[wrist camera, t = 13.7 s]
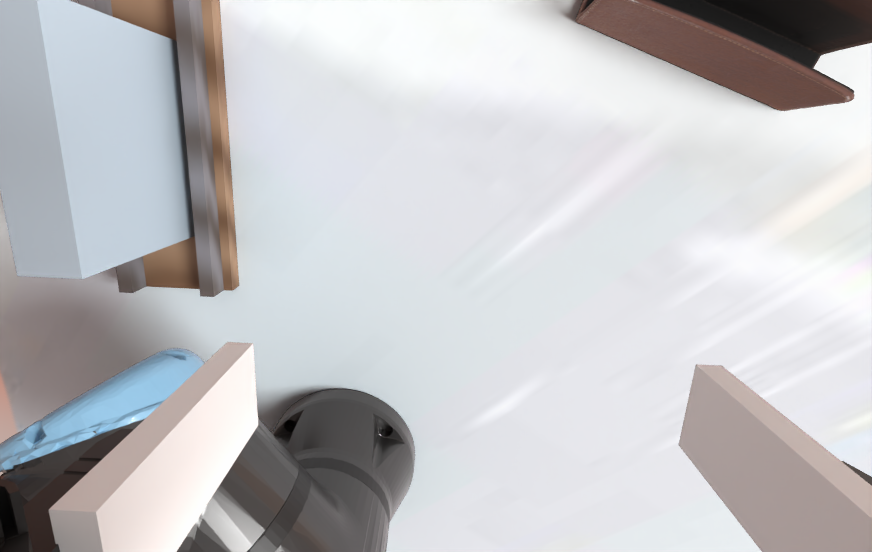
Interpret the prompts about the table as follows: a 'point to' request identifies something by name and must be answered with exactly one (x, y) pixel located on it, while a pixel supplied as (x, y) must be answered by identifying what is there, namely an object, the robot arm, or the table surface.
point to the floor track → (191, 148)
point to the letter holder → (743, 41)
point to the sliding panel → (89, 140)
